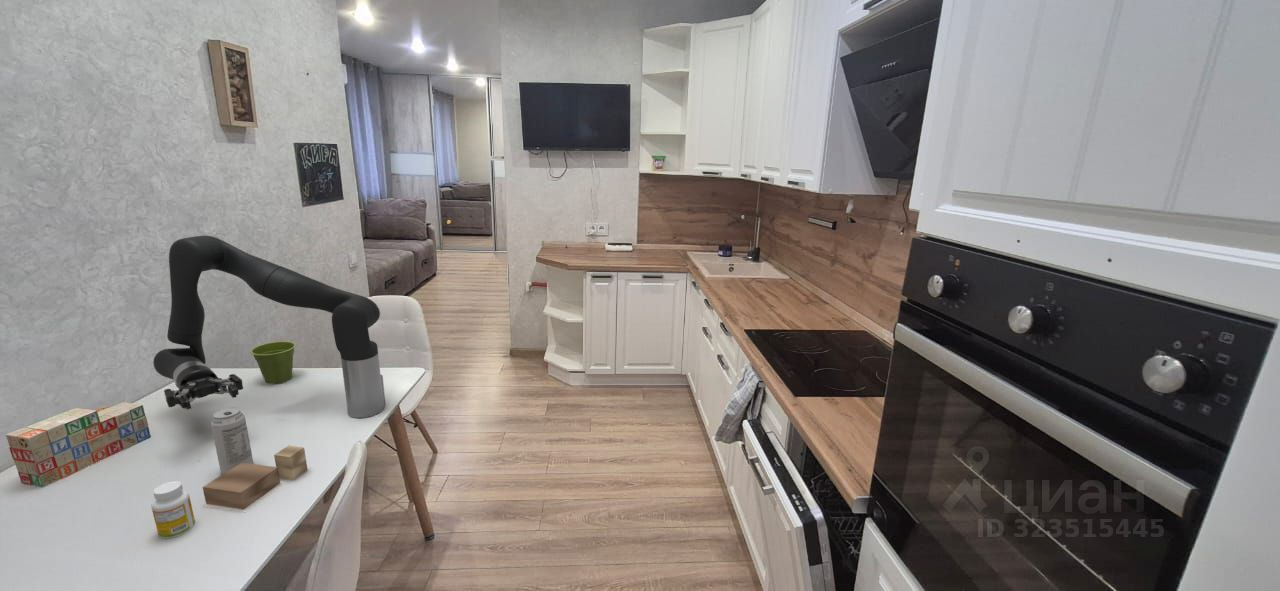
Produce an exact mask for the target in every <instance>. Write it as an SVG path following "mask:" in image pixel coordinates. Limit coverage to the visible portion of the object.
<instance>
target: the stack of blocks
mask: <svg viewBox="0 0 1280 591" xmlns="http://www.w3.org/2000/svg"><path fill="white" fill-rule="evenodd" d="M5 437H6V440H7V442H8V446H9V447H8V450H9V452H10V454H11V457H12V460H13V462H14V464H15V466H16V469H17V470H16V471H17V473H18V476H19V479H20V483H21V484H24V485H29V486H34V487H40V488H45V487H48V486H50V485H51V484H53V483H56V482H58V481H61V480H63V479H65V478H67V477H70V476H72V475H73V474H75V473H78V472H81V471H82V470H85V469H87V468H88V466H89V467H90V466H92V464H93V465H94V464H97V463H99V462H101V461H103V460H105V459H107V458H109V457H111V456H113V455H115V453H116V454H117V453H119V452H122V451H123V450H124V451H125V450H126V449H128V448H131V447H132V446H135V445H137V444H140V443H141V442H143V441H145V440H148V439H149V438H151V437H152V436H151V431H150V428H149V423H148V419H147V415H146V413H145V409H144V405H143V404H139V403H132V402H131V403H130V402H120V403H118V404H115V405H113V406H110V408H107V409H104V410H102V411H99V412H97V411H96V410H94V409H93V410H92V409H86V408H85V409H84V408H79V407H75V408H72V409H70V410H67V411H65V412H64V411H63V412H61V413H59V414H56V415H54V416H51V417H49V418H45V419H44V420H41V421H38V422H36V423H33V424H30V425H27V426H26V427H22V428H19V429H17V430H14V431H10V432H9V433H6V434H5ZM100 460H101V461H100ZM98 461H99V462H98ZM96 462H97V463H96ZM86 467H87V468H86Z"/></svg>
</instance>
